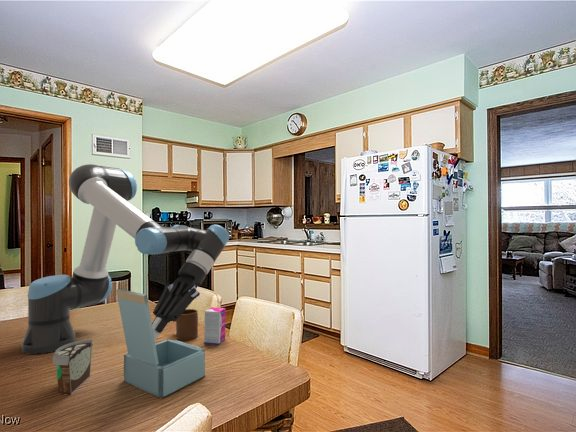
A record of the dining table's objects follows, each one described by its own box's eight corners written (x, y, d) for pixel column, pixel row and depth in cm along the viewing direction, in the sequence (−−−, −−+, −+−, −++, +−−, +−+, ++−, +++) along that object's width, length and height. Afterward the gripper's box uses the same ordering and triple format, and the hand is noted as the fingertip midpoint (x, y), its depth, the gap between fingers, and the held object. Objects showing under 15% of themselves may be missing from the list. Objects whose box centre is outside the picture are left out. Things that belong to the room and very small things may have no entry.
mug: (165, 335, 125) (165, 310, 125) (183, 329, 131) (183, 305, 131) (184, 342, 117) (184, 315, 117) (202, 336, 123) (202, 311, 123)
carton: (170, 360, 102) (170, 337, 102) (209, 374, 93) (209, 349, 93) (122, 380, 90) (122, 354, 90) (162, 399, 80) (162, 370, 80)
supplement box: (219, 345, 115) (219, 311, 115) (203, 344, 116) (203, 311, 116) (226, 339, 120) (225, 307, 121) (210, 338, 122) (210, 306, 122)
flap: (131, 352, 89) (119, 289, 87) (158, 363, 83) (146, 294, 80) (128, 354, 88) (116, 290, 86) (155, 365, 82) (143, 296, 79)
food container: (69, 375, 93) (69, 339, 93) (92, 374, 93) (92, 338, 93) (40, 399, 81) (40, 357, 81) (67, 398, 81) (67, 356, 81)
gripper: (218, 278, 99) (171, 354, 85) (188, 274, 106) (141, 344, 92) (204, 262, 94) (153, 340, 80) (174, 259, 101) (122, 331, 87)
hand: (146, 342), depth 86 cm, fingers closed
